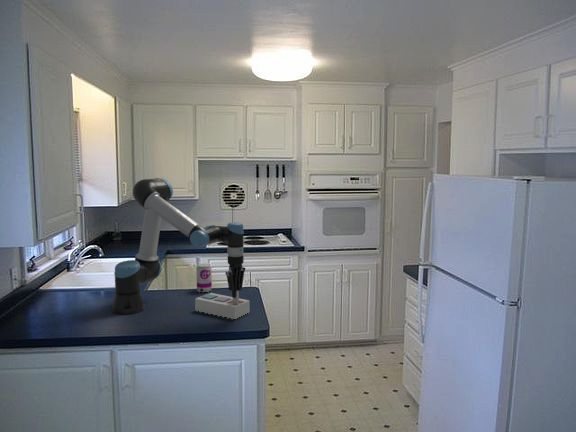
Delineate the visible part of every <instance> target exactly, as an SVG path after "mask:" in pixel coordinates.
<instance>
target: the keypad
mask: <svg viewBox="0 0 576 432" xmlns="http://www.w3.org/2000/svg"><path fill="white" fill-rule="evenodd" d="M208 294H211V295H216V296H217V298H219V297H226V298H230V300H229V301H226V302H224V303H223V302H218V301H214V299H216V298H214V299H211V300H209V299H204V298H202V296H205V295H206V294H204V295H202V296H198V297H196V298H195V300H194V302H195V303H194V304H195V305H194V306H195V308H194V310H195V312H198V311H199V312H198V313H202V312H204V313H203V314H207V313H208V314H207V315H211V314H213V316H215V315H217V316H216V317H220V316H222V317H221V318H224V317H227V318H226V319H229V318H231V319H230V320H233V319H236V320H237V318H238V319H240V318H242V317H244V316H246V315H248V314H250V313H249V312H251V311H250V302H251V301H250V300H249V299H244V298H239V303H242V304H239V305H233V304H230V303H233V298H232V296H228V295H223V294H218V293H214V292H208ZM247 313H248V314H247ZM245 314H246V315H245ZM243 315H244V316H243ZM241 316H242V317H241ZM239 317H240V318H239Z"/></svg>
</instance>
